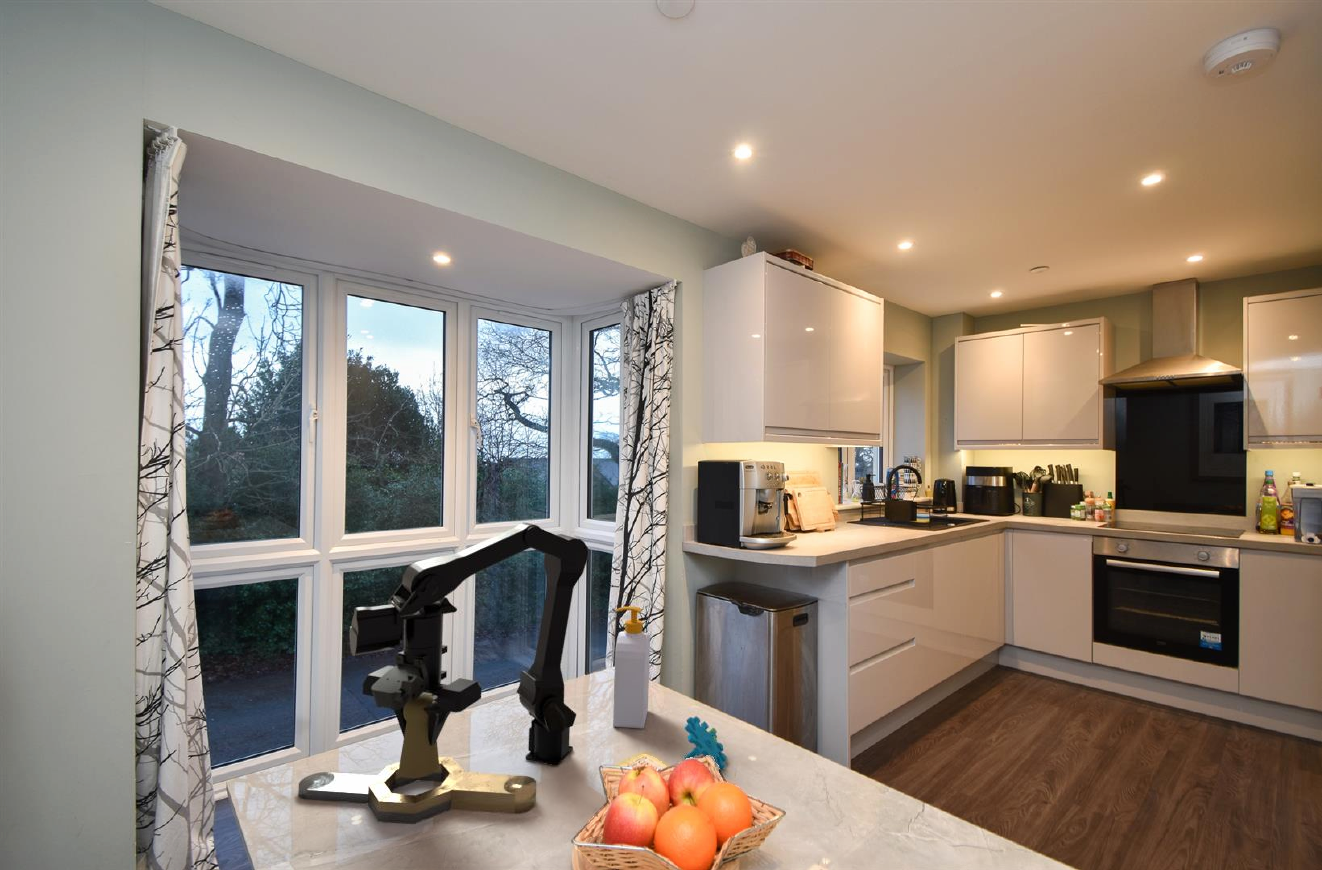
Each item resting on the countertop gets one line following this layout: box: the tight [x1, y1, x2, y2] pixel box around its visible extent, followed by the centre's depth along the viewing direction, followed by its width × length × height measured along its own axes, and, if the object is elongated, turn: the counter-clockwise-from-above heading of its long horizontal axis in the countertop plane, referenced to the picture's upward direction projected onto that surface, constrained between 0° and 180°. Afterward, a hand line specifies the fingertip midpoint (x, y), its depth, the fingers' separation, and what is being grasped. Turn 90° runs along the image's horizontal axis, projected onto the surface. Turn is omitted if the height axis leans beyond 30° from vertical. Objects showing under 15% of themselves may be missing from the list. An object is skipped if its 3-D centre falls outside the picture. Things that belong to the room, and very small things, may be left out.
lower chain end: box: [297, 771, 452, 825], centre depth 94 cm, size 26×13×2 cm, turn 86°
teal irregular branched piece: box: [684, 715, 728, 771], centre depth 107 cm, size 11×6×10 cm
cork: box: [398, 694, 440, 778], centre depth 94 cm, size 6×6×11 cm
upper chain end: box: [368, 756, 538, 815], centre depth 93 cm, size 26×13×3 cm, turn 86°
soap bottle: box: [612, 605, 651, 729], centre depth 123 cm, size 9×7×23 cm
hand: (420, 742), depth 94 cm, fingers closed on cork, 4 cm apart
